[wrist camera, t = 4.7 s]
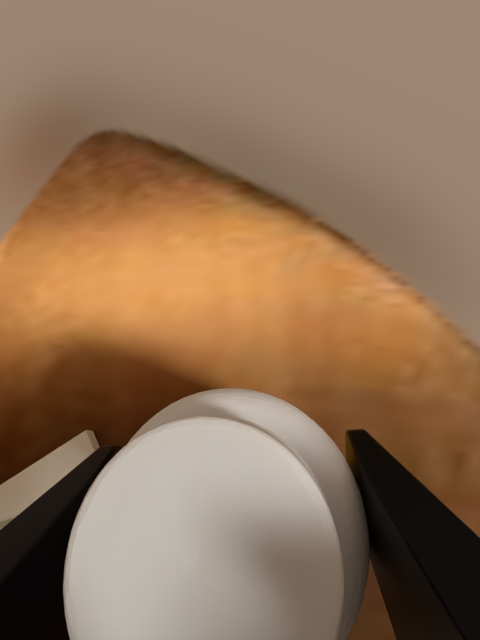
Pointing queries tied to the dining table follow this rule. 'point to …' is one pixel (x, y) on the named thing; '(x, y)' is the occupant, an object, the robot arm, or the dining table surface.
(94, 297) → the dining table surface
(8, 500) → the card
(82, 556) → the supplement bottle
